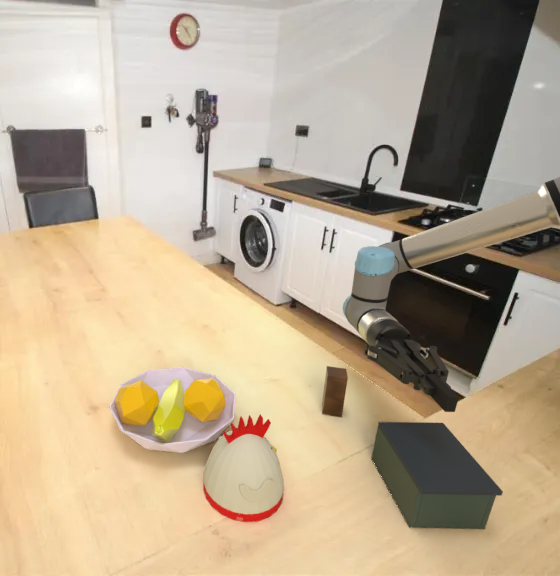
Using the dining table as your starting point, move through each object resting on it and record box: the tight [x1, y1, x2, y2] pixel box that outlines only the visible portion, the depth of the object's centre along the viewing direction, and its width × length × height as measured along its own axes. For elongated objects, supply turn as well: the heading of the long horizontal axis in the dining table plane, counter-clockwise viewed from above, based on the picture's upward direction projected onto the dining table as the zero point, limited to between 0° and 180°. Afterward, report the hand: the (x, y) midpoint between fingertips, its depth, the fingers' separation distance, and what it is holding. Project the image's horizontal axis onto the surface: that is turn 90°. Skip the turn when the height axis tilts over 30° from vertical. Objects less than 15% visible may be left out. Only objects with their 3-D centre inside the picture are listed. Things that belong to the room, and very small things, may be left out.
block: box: [321, 365, 349, 418], centre depth 90 cm, size 4×4×10 cm
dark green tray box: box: [371, 425, 497, 530], centre depth 70 cm, size 15×12×8 cm
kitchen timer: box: [203, 414, 285, 523], centre depth 70 cm, size 14×14×15 cm
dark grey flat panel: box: [377, 421, 504, 496], centre depth 68 cm, size 15×12×1 cm
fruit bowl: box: [108, 366, 236, 454], centre depth 86 cm, size 28×27×11 cm
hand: (451, 404), depth 63 cm, fingers closed
